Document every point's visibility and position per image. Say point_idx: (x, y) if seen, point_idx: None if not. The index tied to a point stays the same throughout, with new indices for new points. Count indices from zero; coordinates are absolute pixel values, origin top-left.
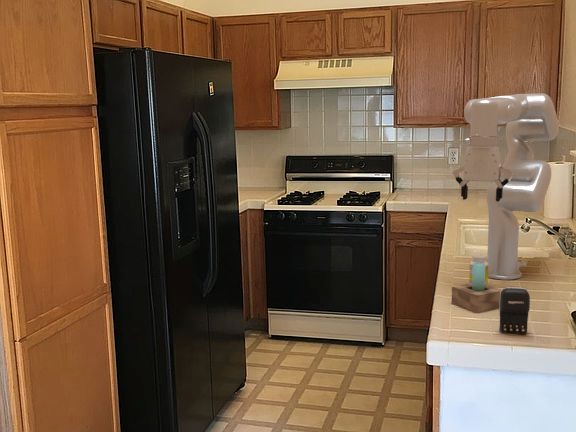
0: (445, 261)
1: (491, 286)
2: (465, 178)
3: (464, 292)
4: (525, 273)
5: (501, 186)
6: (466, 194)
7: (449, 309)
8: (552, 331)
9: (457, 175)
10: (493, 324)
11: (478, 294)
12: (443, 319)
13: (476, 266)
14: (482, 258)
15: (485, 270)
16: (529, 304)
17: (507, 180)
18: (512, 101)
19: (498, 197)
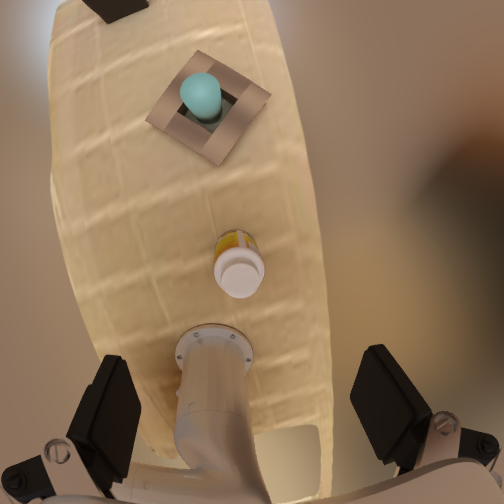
0: (329, 387)
1: (177, 137)
2: (470, 462)
3: (233, 71)
4: (178, 378)
5: (53, 449)
6: (368, 398)
7: (259, 64)
8: (70, 49)
9: (498, 468)
10: (160, 23)
11: (195, 58)
12: (254, 10)
13: (205, 73)
14: (228, 266)
15: (218, 253)
16: None
17: (4, 480)
18: None
19: (99, 377)
